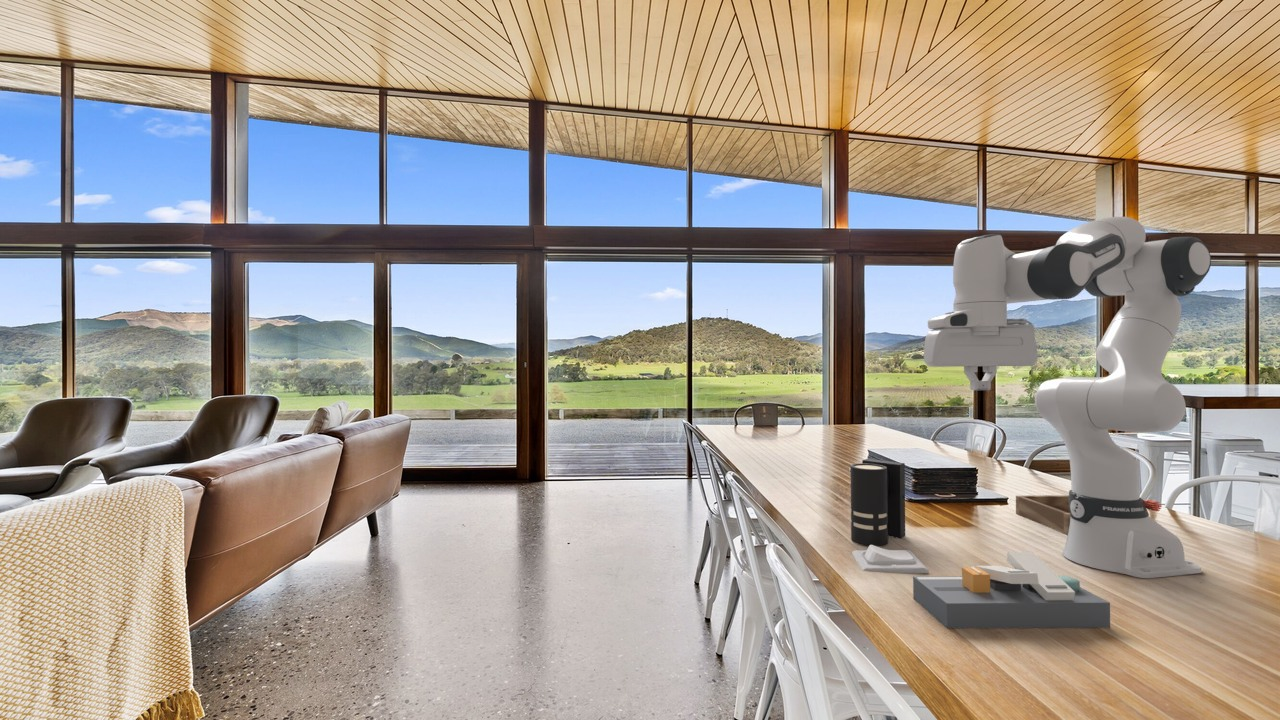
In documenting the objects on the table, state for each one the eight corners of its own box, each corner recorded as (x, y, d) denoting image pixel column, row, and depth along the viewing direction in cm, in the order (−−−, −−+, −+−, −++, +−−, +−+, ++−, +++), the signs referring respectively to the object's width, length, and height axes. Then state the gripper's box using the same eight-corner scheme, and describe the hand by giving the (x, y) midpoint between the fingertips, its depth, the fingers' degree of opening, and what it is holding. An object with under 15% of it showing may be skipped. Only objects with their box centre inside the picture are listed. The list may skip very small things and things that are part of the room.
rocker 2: (1031, 559, 98) (1033, 551, 97) (1073, 600, 88) (1075, 591, 88) (1006, 560, 98) (1008, 551, 97) (1045, 600, 88) (1047, 591, 88)
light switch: (849, 539, 123) (910, 538, 121) (851, 558, 123) (912, 557, 121) (861, 556, 112) (927, 556, 110) (862, 577, 112) (929, 576, 110)
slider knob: (978, 584, 95) (978, 565, 95) (990, 592, 92) (989, 573, 92) (962, 584, 95) (961, 566, 95) (973, 592, 92) (973, 573, 92)
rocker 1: (1000, 575, 98) (998, 564, 98) (1038, 583, 88) (1036, 572, 89) (975, 575, 98) (973, 564, 98) (1011, 583, 88) (1009, 572, 89)
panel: (1058, 597, 99) (1058, 570, 99) (1110, 627, 88) (1109, 596, 88) (913, 598, 99) (913, 570, 99) (947, 628, 88) (946, 597, 88)
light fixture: (841, 540, 131) (841, 465, 131) (866, 527, 141) (866, 458, 141) (883, 550, 124) (882, 471, 124) (906, 536, 133) (905, 463, 134)
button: (1069, 584, 95) (1069, 576, 95) (1084, 592, 91) (1084, 583, 91) (1051, 584, 95) (1051, 576, 95) (1065, 592, 92) (1065, 583, 92)
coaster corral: (1083, 513, 152) (1083, 495, 152) (1144, 534, 133) (1144, 513, 133) (1015, 513, 152) (1015, 495, 152) (1067, 534, 134) (1067, 514, 134)
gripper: (1022, 319, 109) (1023, 388, 109) (919, 320, 109) (920, 389, 109) (1045, 317, 103) (1046, 390, 103) (936, 318, 103) (937, 391, 103)
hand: (980, 390), depth 106 cm, fingers closed
